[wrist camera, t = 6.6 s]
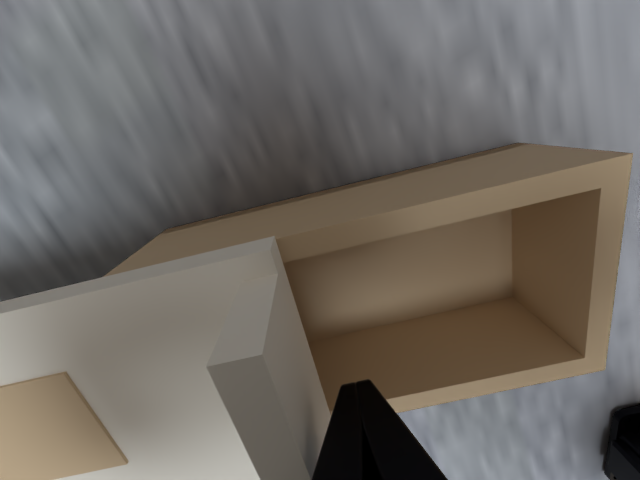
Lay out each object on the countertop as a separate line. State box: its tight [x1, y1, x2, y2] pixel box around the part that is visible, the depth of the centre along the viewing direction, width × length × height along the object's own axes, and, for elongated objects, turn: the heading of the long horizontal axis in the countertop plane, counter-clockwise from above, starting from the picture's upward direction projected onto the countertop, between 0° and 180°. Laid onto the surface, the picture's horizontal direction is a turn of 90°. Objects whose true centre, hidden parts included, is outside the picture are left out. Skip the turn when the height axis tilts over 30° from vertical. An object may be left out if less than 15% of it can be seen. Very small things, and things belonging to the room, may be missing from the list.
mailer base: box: [103, 143, 633, 415], centre depth 13 cm, size 16×8×5 cm, turn 104°
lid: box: [0, 236, 331, 480], centre depth 9 cm, size 16×8×4 cm, turn 103°
